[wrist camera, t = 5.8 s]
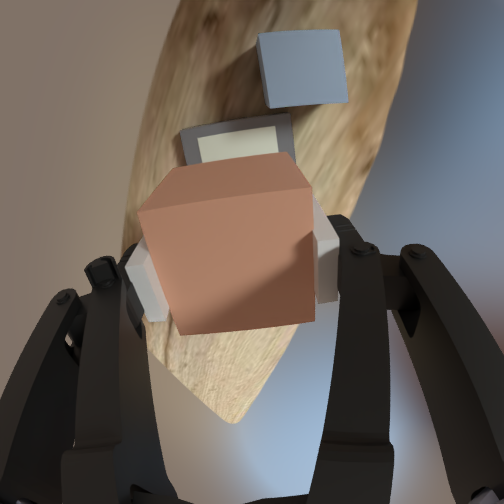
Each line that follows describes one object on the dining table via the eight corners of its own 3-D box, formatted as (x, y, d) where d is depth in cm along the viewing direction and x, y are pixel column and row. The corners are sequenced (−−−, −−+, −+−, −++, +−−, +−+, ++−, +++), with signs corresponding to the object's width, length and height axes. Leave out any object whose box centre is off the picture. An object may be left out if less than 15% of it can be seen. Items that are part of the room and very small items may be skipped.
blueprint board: (288, 112, 25) (290, 113, 24) (297, 199, 30) (300, 205, 29) (182, 129, 26) (179, 131, 25) (201, 213, 31) (199, 219, 29)
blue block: (320, 40, 21) (338, 29, 16) (328, 98, 25) (348, 102, 19) (255, 44, 22) (258, 33, 17) (265, 104, 25) (270, 108, 20)
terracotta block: (286, 151, 15) (311, 187, 9) (294, 251, 18) (314, 321, 13) (173, 168, 15) (136, 212, 10) (196, 263, 18) (180, 335, 13)
